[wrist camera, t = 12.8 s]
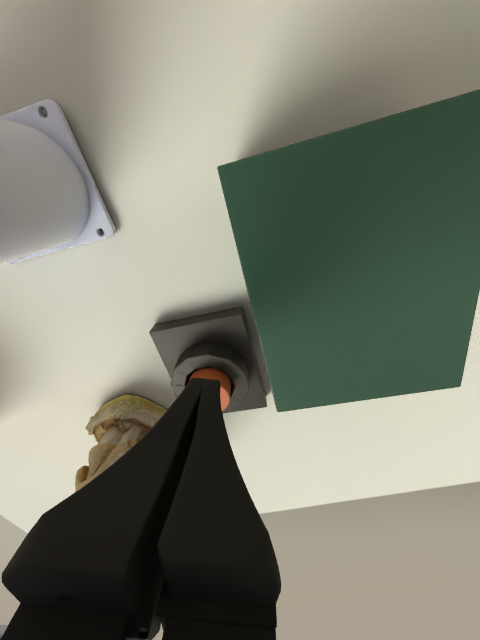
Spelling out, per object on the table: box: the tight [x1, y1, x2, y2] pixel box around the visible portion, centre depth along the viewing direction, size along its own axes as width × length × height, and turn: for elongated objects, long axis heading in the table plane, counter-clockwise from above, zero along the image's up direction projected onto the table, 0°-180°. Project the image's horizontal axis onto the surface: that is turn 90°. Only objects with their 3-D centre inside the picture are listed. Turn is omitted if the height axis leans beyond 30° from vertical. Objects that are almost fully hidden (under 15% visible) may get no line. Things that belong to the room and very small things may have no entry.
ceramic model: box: [75, 395, 167, 492], centre depth 25 cm, size 14×11×10 cm
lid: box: [217, 89, 480, 412], centre depth 13 cm, size 14×11×1 cm
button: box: [189, 367, 231, 411], centre depth 21 cm, size 4×4×2 cm
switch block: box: [149, 307, 267, 413], centre depth 23 cm, size 8×10×3 cm
